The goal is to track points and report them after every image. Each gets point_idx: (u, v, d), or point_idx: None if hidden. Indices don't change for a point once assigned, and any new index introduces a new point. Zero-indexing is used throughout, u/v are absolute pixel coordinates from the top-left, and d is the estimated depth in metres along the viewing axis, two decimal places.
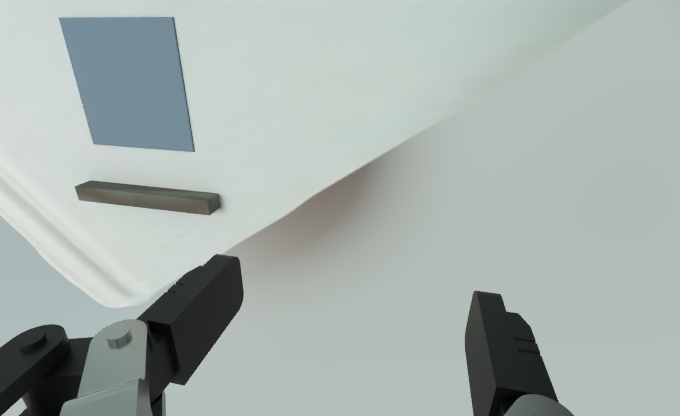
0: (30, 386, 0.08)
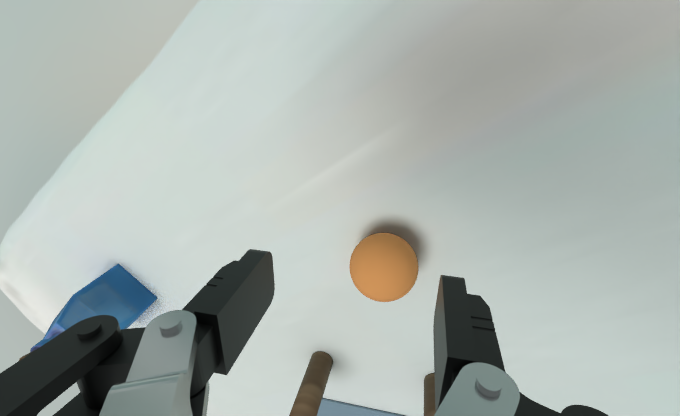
0: None
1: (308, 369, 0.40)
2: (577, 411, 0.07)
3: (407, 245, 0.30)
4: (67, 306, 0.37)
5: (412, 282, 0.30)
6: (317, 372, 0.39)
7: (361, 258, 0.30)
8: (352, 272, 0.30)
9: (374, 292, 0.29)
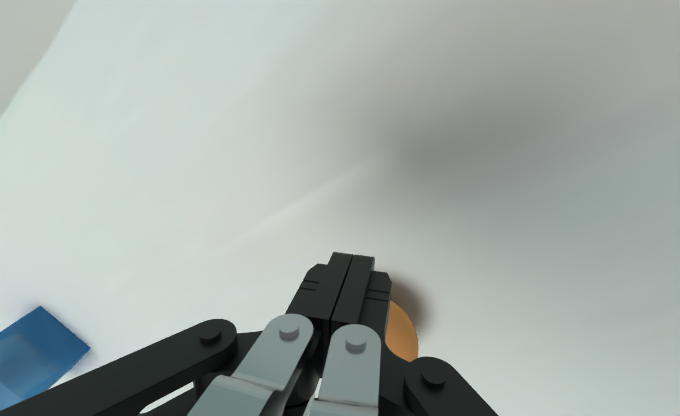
0: None
1: None
2: (415, 365, 0.08)
3: (403, 318, 0.21)
4: None
5: None
6: None
7: None
8: None
9: None
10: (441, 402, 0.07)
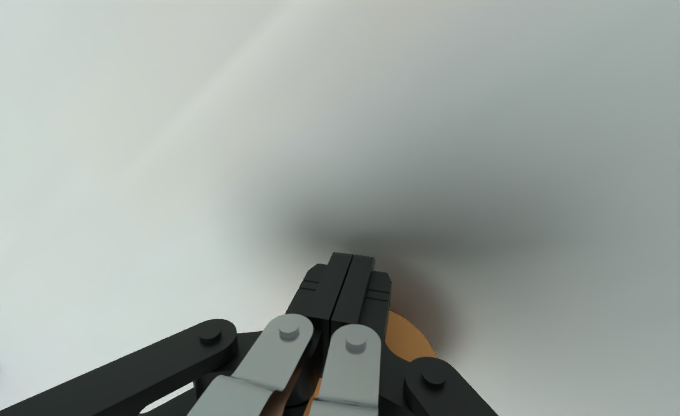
0: None
1: None
2: (415, 365, 0.08)
3: None
4: None
5: None
6: None
7: None
8: None
9: None
10: (441, 402, 0.07)
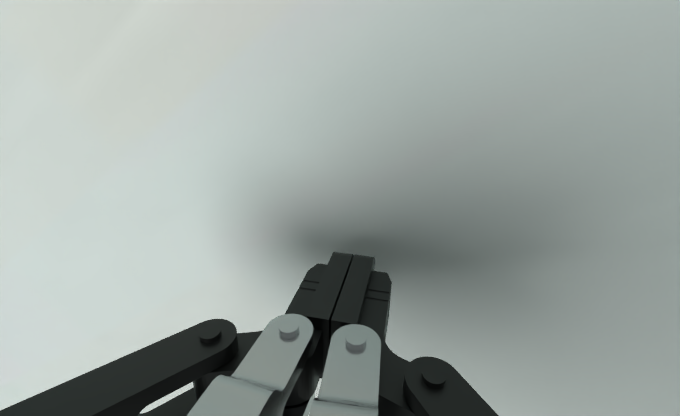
0: None
1: None
2: (415, 365, 0.08)
3: None
4: None
5: None
6: None
7: None
8: None
9: None
10: (441, 402, 0.07)
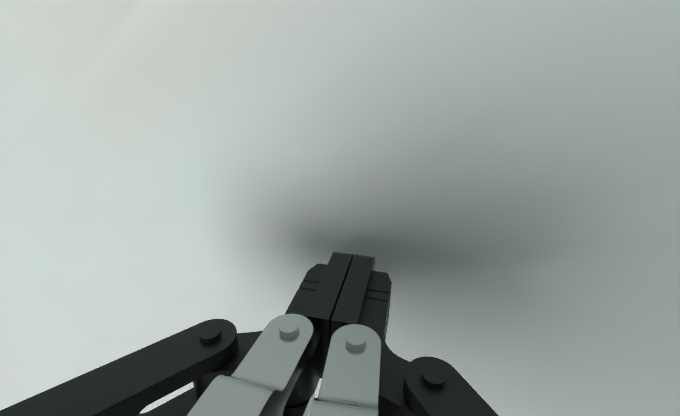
0: None
1: None
2: (415, 365, 0.08)
3: None
4: None
5: None
6: None
7: None
8: None
9: None
10: (441, 402, 0.07)
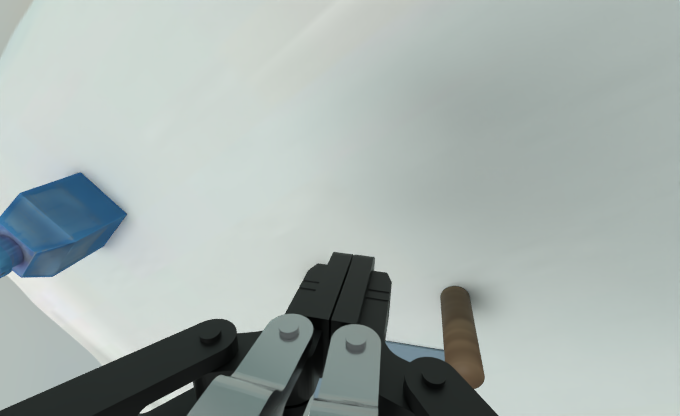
0: None
1: None
2: (415, 365, 0.08)
3: None
4: (12, 204, 0.31)
5: None
6: None
7: None
8: None
9: None
10: (441, 402, 0.07)
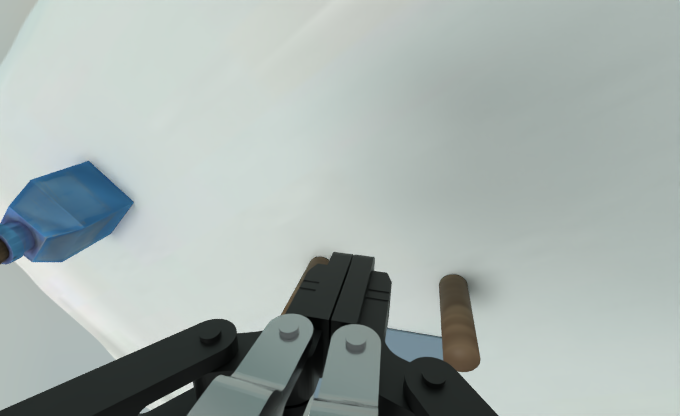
0: None
1: (305, 272, 0.34)
2: (415, 365, 0.08)
3: None
4: (23, 191, 0.32)
5: None
6: None
7: None
8: None
9: None
10: (441, 402, 0.07)
